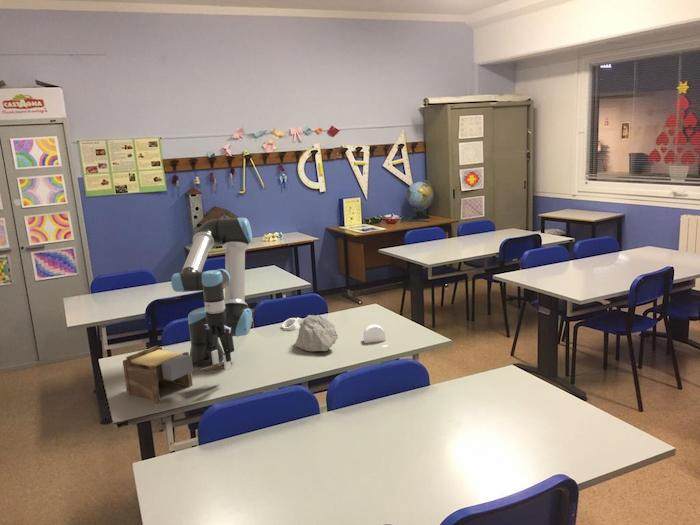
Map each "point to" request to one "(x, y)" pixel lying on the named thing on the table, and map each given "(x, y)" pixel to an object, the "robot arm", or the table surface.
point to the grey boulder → (316, 334)
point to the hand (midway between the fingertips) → (221, 367)
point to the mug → (292, 324)
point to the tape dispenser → (374, 334)
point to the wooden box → (148, 377)
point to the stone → (213, 367)
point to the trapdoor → (167, 363)
